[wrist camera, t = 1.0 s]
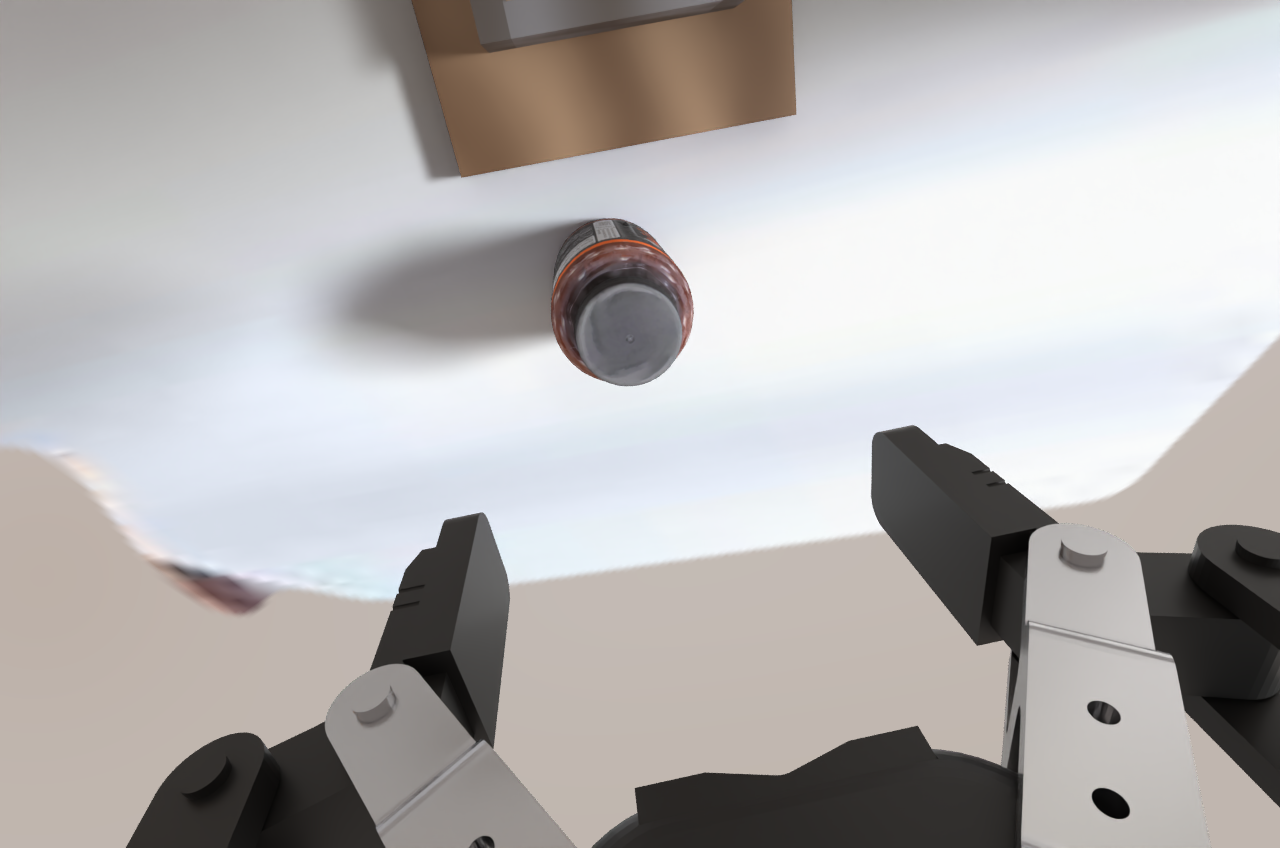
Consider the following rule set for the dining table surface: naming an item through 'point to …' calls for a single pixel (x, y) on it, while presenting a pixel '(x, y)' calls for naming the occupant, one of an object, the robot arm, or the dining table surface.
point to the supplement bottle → (619, 303)
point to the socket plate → (601, 73)
